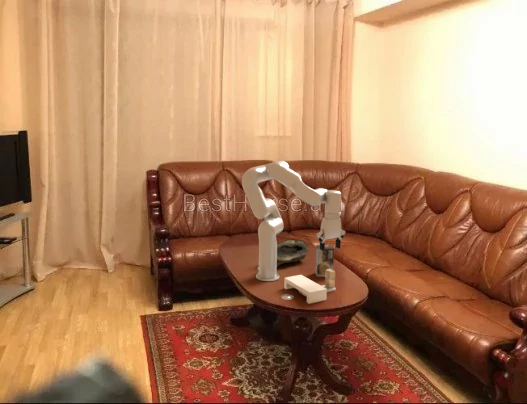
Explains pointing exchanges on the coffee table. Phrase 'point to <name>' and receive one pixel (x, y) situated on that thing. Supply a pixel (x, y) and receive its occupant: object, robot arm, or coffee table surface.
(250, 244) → the coffee table surface
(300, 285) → the cream flanged plate
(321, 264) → the coffee box
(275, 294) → the coffee table surface
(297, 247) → the hollow geode rock
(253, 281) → the coffee table surface
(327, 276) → the white-handled mallet
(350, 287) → the coffee table surface
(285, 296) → the token
